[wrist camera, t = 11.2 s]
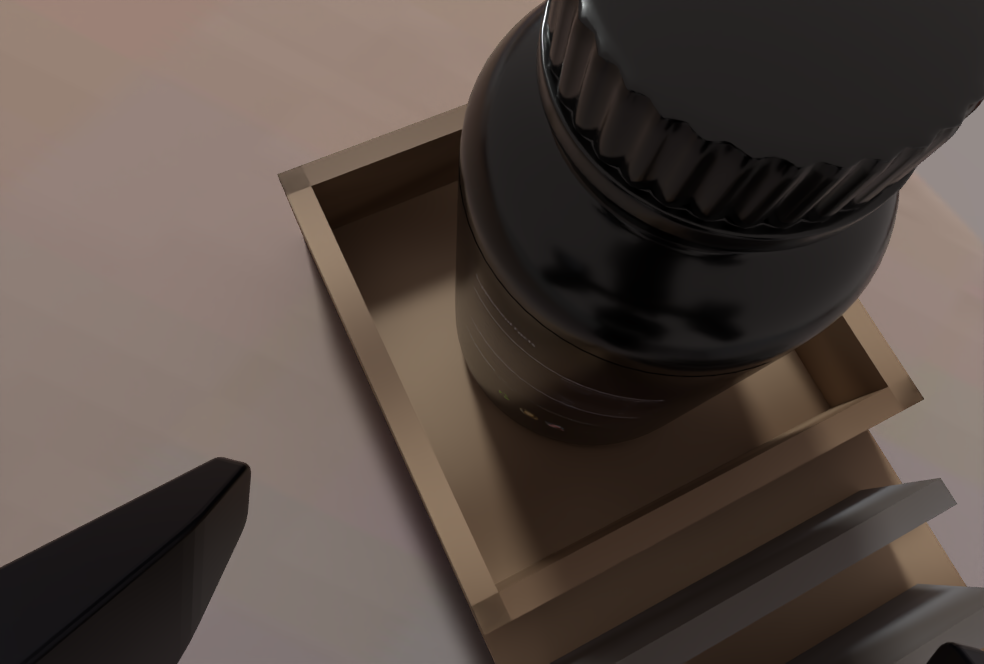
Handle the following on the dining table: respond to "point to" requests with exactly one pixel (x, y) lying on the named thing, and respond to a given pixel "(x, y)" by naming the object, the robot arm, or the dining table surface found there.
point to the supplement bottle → (687, 192)
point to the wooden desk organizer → (635, 467)
